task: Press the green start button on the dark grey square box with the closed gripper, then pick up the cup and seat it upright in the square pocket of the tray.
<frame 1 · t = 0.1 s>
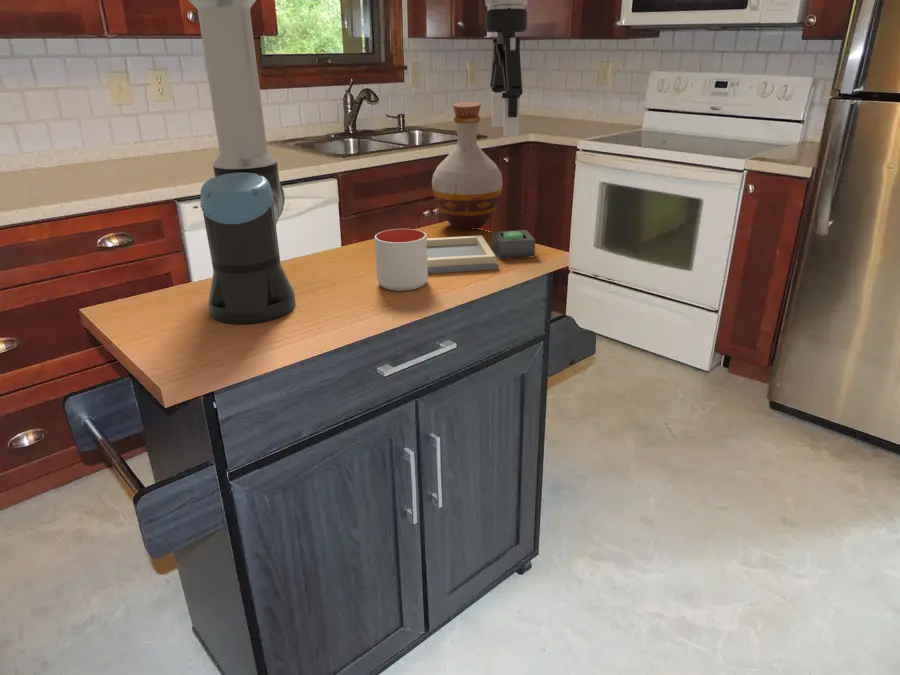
hand: (504, 131, 128), 28 cm above the countertop, fingers open, 13 cm apart
dark grey square box: (512, 252, 150), on the countertop
tray: (452, 259, 146), on the countertop
jug: (468, 225, 172), on the countertop
cup: (402, 285, 132), on the countertop
button: (513, 240, 148), point 3 cm above the countertop, slide at 1.6 cm
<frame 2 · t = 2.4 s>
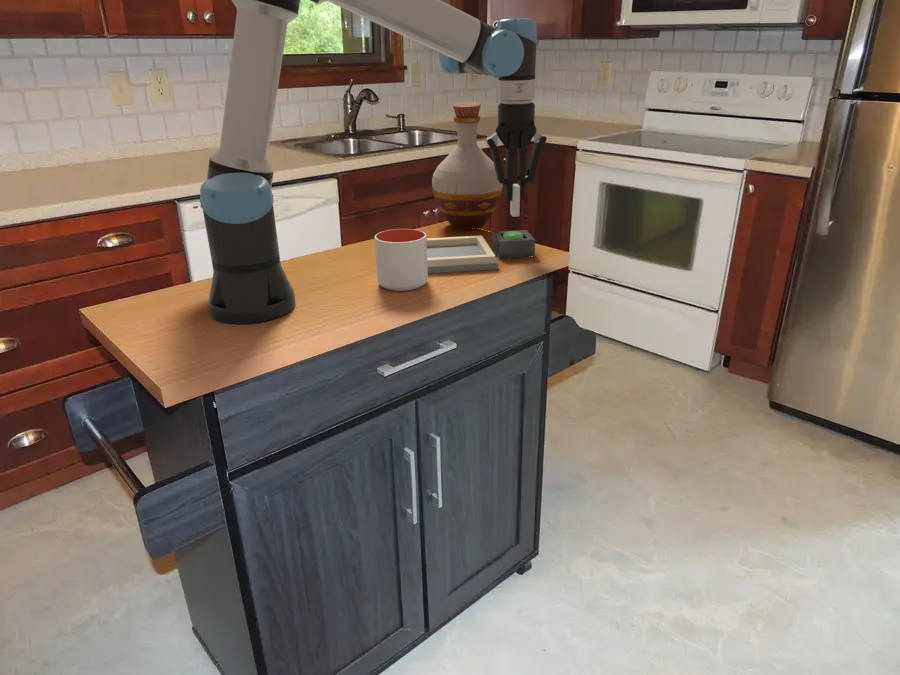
hand: (514, 214, 146), 9 cm above the countertop, fingers closed
nothing on the countertop moved.
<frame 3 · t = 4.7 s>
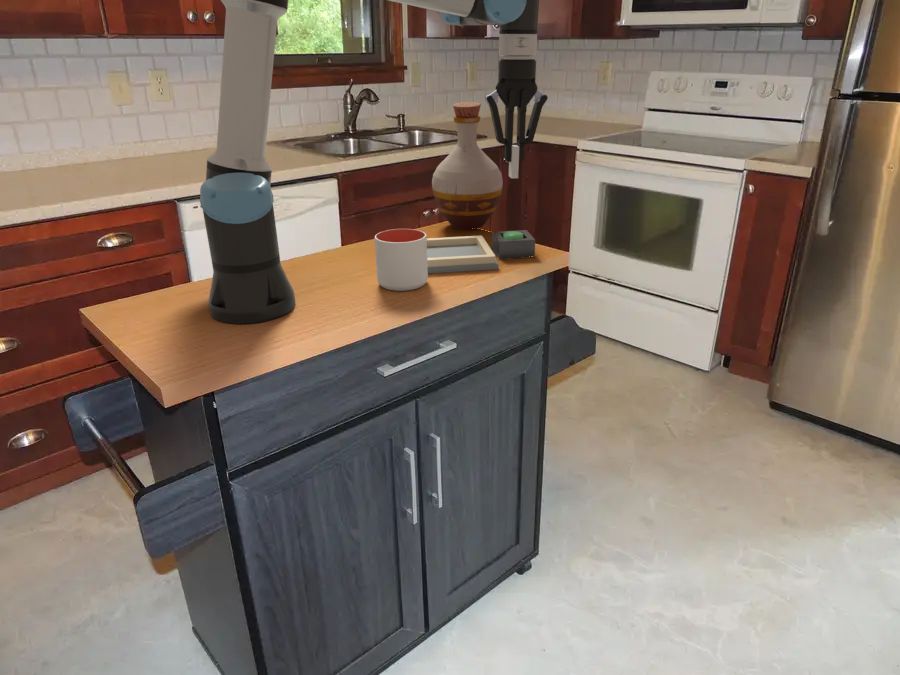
hand: (513, 177, 142), 17 cm above the countertop, fingers closed
nothing on the countertop moved.
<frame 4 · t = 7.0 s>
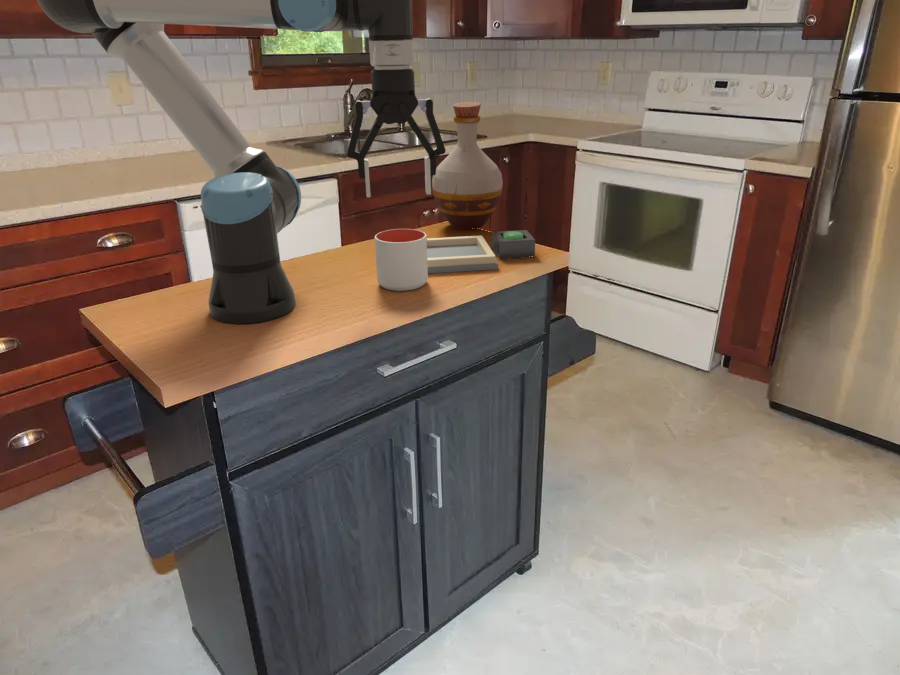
hand: (398, 194, 125), 18 cm above the countertop, fingers open, 10 cm apart
nothing on the countertop moved.
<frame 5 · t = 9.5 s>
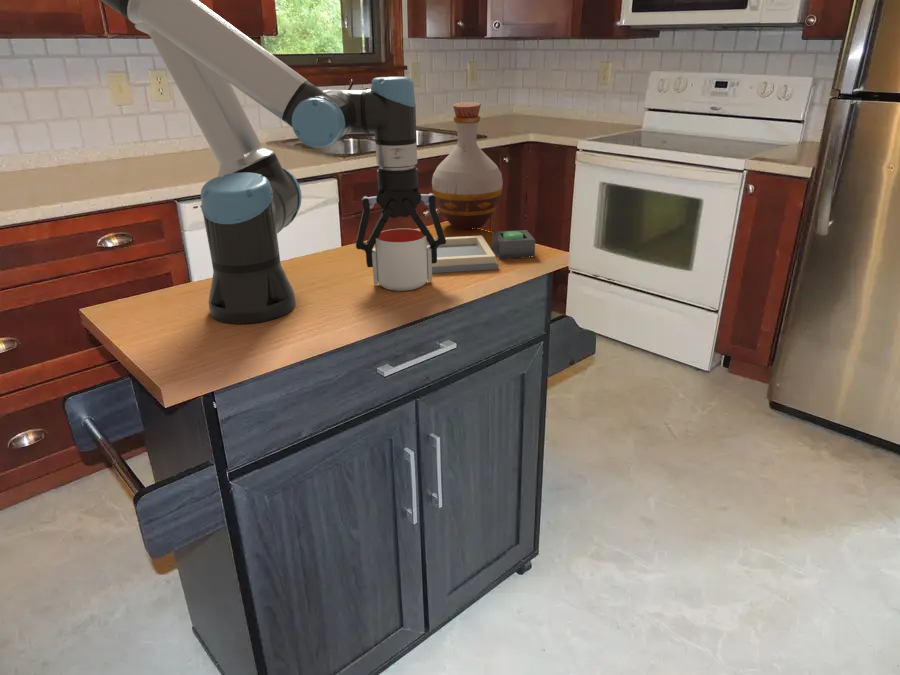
hand: (402, 280, 132), 1 cm above the countertop, fingers closed on cup, 10 cm apart
cup: (403, 285, 132), on the countertop, touching gripper
everything else where it was.
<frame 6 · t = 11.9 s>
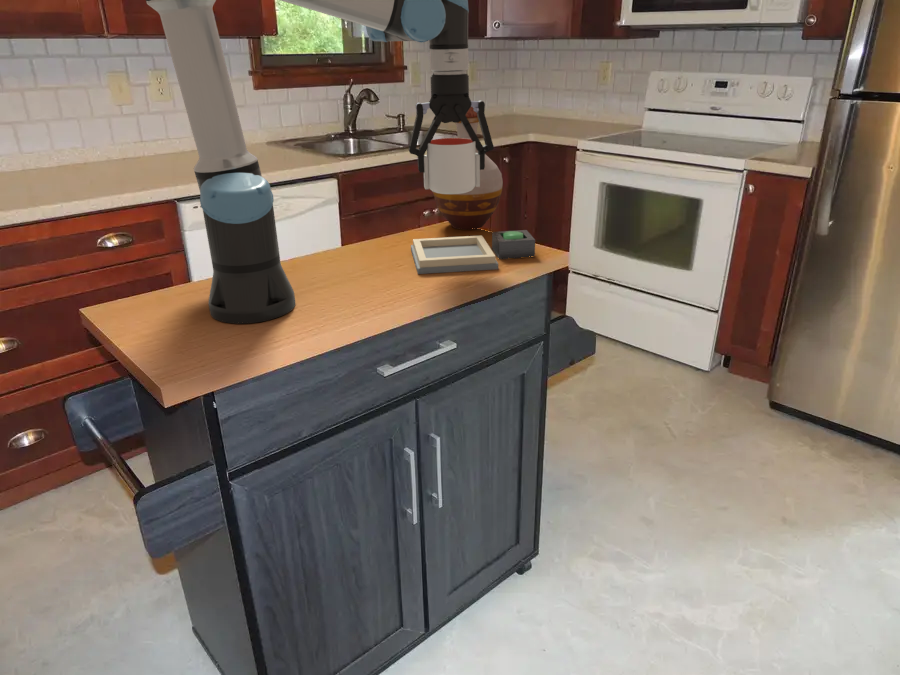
hand: (451, 186, 139), 16 cm above the countertop, fingers closed on cup, 10 cm apart
cup: (452, 191, 140), point 15 cm above the countertop, touching gripper
everything else where it was.
when the fingers open (4 cm above the countertop, at t = 14.6 s): cup drops 2 cm, resting on tray.
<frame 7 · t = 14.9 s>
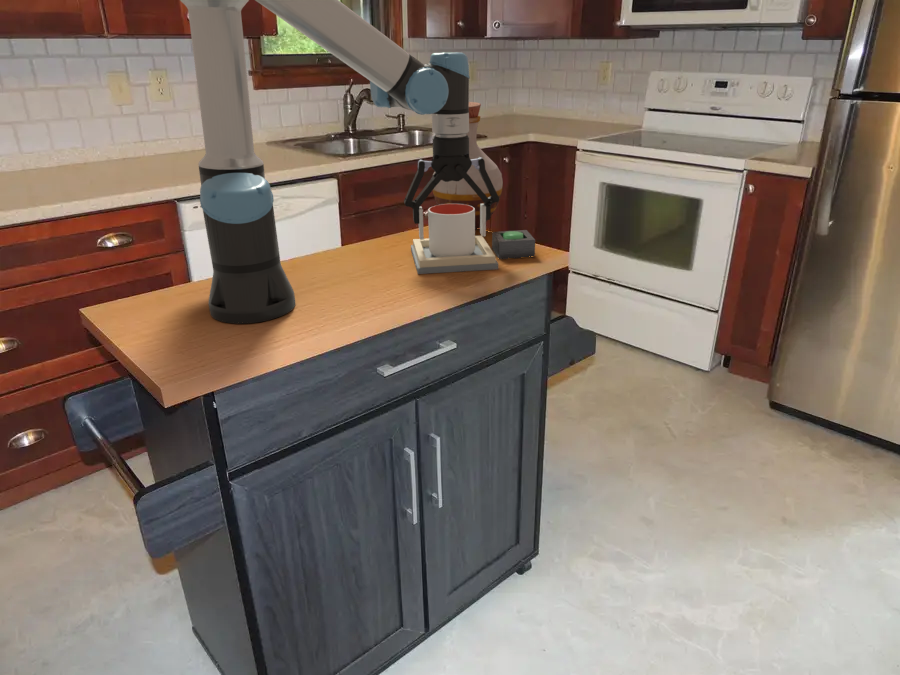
hand: (452, 236, 144), 5 cm above the countertop, fingers open, 13 cm apart
cup: (452, 254, 146), point 1 cm above the countertop, touching tray
everything else where it was.
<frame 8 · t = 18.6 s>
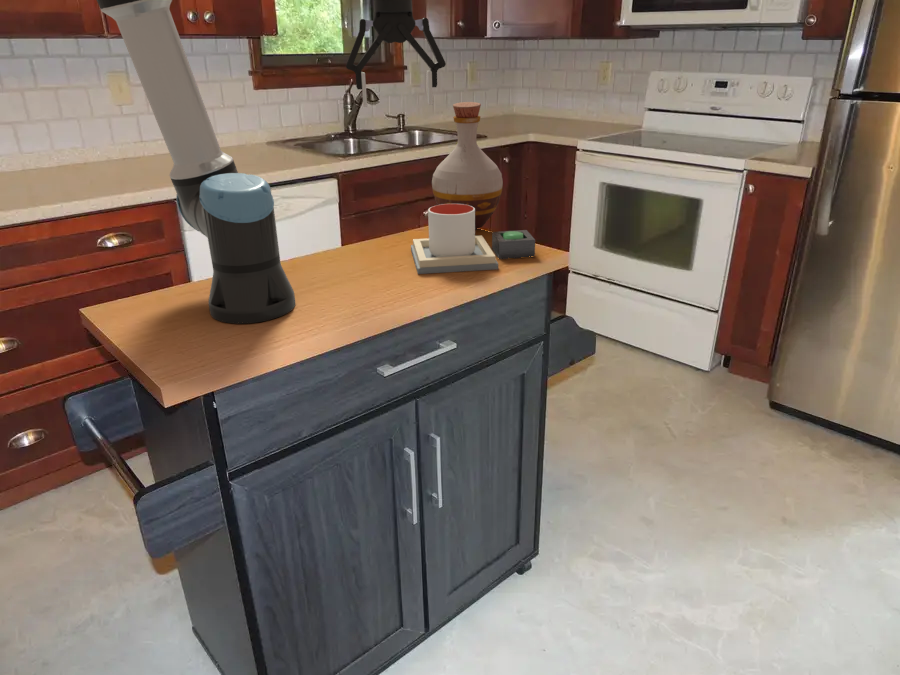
hand: (397, 105, 139), 32 cm above the countertop, fingers open, 13 cm apart
nothing on the countertop moved.
at the end: cup 0.1 cm off-centre on the tray, point 1.0 cm above the tray's base; cup tilted 0°; the gripper is holding nothing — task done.
